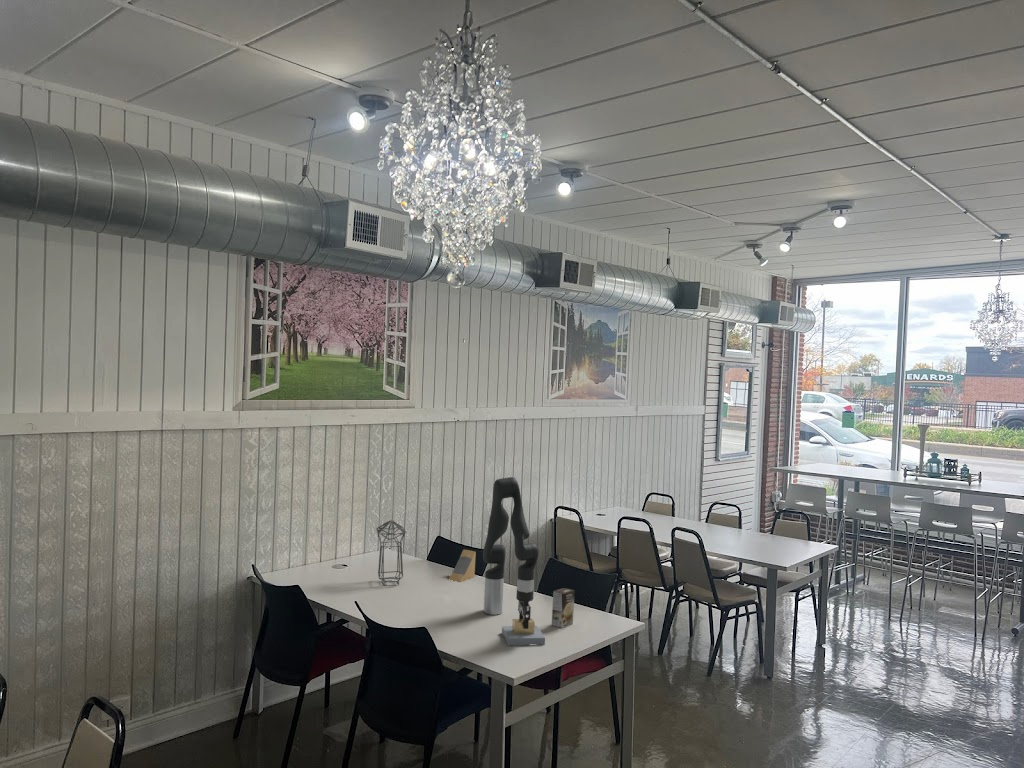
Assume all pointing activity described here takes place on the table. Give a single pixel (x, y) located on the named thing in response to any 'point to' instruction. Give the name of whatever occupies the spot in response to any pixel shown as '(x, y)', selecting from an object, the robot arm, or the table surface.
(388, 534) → the geometric lantern
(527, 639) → the slate board
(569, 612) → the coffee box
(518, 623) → the tan rectangular block
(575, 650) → the table surface
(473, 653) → the table surface
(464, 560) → the sandwich container
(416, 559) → the table surface
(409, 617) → the table surface
